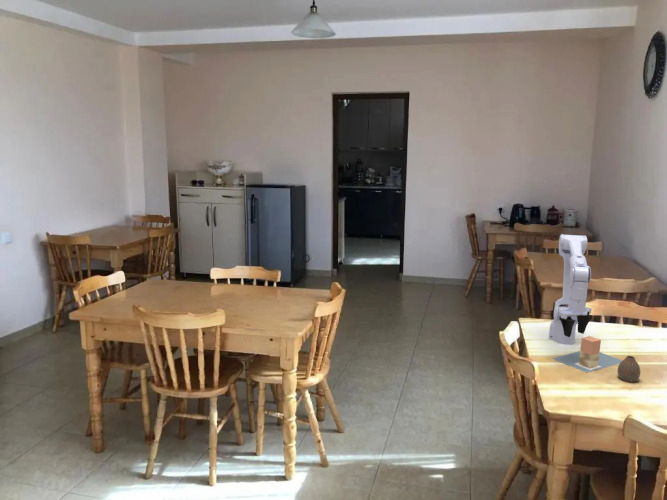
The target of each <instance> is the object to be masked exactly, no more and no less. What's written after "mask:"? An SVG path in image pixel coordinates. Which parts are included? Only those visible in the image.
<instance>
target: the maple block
mask: <svg viewBox="0 0 667 500" xmlns="http://www.w3.org/2000/svg"><path fill="white" fill-rule="evenodd" d="M579 351H580V350H579ZM598 361H599V353H598V354H594V355H589V354H587V353H584V352H581V351H580V359H579V364H580V365H582V366H585V367H587V368H594V367H597V366H598Z"/></svg>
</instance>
